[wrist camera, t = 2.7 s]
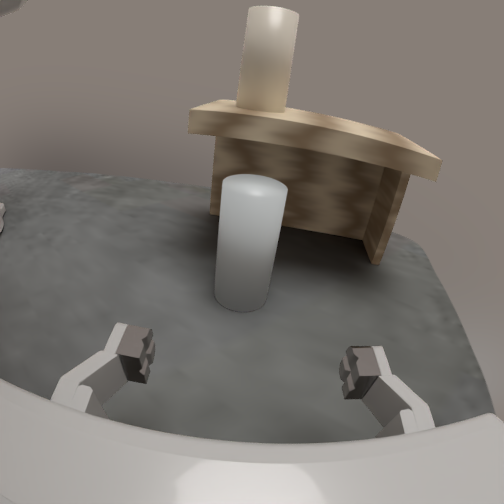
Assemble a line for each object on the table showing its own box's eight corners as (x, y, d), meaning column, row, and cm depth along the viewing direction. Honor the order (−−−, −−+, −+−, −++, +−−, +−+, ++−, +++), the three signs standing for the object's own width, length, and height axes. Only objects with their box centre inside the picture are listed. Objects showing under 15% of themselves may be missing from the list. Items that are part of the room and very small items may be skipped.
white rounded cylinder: (232, 107, 24) (245, 4, 19) (239, 104, 28) (251, 14, 23) (284, 114, 24) (300, 10, 19) (284, 110, 28) (298, 20, 23)
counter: (184, 262, 29) (189, 109, 21) (211, 211, 39) (221, 99, 31) (390, 295, 29) (442, 160, 21) (367, 237, 39) (397, 133, 31)
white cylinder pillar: (209, 306, 25) (216, 191, 19) (219, 273, 28) (229, 170, 23) (264, 316, 24) (287, 202, 19) (268, 281, 28) (287, 179, 23)
